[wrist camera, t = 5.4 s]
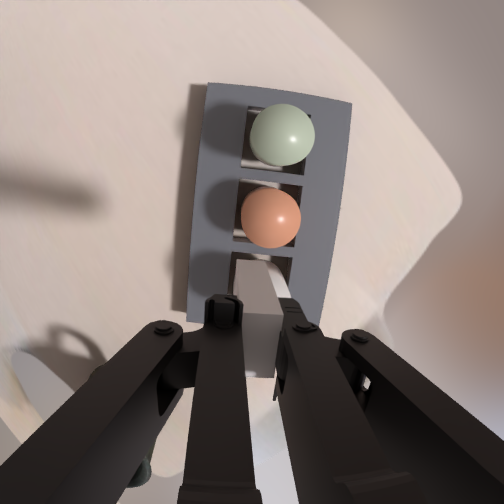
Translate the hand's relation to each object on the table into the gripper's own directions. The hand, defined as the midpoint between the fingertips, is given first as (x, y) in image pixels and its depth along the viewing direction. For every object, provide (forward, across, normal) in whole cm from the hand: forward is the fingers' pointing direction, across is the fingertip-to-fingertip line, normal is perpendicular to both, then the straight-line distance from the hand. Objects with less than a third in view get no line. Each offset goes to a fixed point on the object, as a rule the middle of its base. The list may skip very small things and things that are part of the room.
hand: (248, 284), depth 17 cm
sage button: (+14, +2, +9) cm, 17 cm away
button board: (+16, +2, +2) cm, 16 cm away
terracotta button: (+15, +2, +2) cm, 16 cm away
